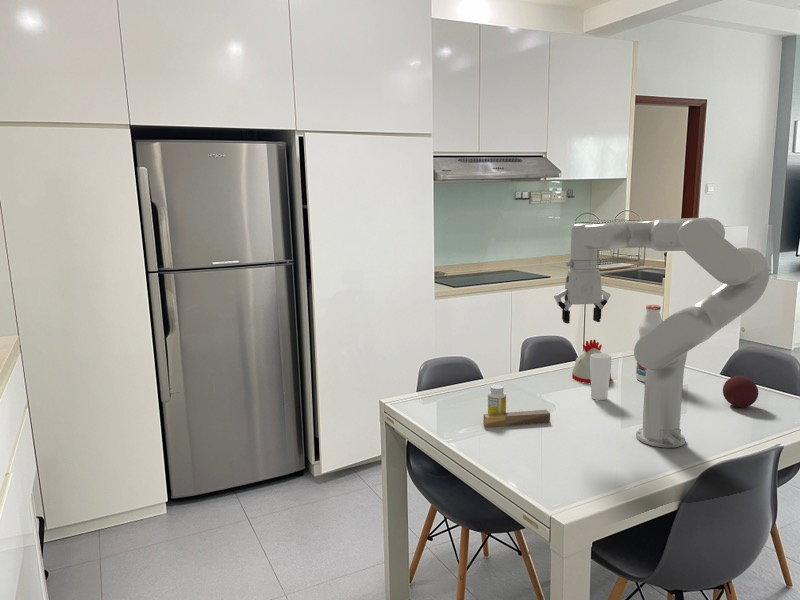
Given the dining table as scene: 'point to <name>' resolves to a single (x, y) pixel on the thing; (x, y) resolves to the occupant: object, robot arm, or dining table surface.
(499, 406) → the supplement bottle
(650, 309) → the fruit juice
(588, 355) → the white and red dome
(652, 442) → the robot arm
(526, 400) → the dining table surface
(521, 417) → the brown wooden bar
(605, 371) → the drinking glass
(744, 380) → the decorative ball
